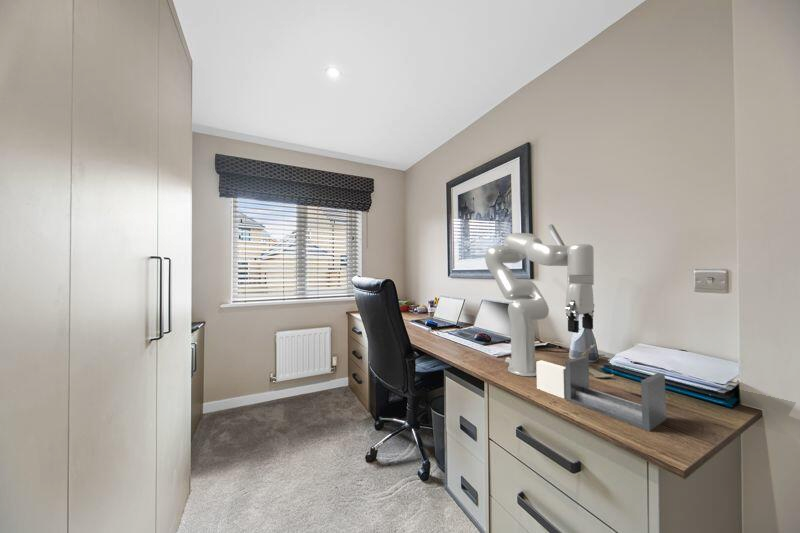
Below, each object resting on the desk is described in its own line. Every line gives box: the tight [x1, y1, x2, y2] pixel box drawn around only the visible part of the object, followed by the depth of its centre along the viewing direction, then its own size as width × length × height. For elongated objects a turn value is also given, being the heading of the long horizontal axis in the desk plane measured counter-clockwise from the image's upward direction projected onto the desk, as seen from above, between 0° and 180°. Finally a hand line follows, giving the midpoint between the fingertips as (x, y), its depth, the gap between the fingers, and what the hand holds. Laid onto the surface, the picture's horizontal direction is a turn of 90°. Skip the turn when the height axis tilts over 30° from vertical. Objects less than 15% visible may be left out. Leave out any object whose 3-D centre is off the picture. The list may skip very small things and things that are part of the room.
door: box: [535, 359, 566, 400], centre depth 100 cm, size 10×3×10 cm, turn 30°
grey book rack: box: [564, 355, 667, 432], centre depth 88 cm, size 22×12×13 cm, turn 30°
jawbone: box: [580, 343, 615, 379], centre depth 121 cm, size 14×8×15 cm
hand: (580, 330), depth 95 cm, fingers open, 9 cm apart
